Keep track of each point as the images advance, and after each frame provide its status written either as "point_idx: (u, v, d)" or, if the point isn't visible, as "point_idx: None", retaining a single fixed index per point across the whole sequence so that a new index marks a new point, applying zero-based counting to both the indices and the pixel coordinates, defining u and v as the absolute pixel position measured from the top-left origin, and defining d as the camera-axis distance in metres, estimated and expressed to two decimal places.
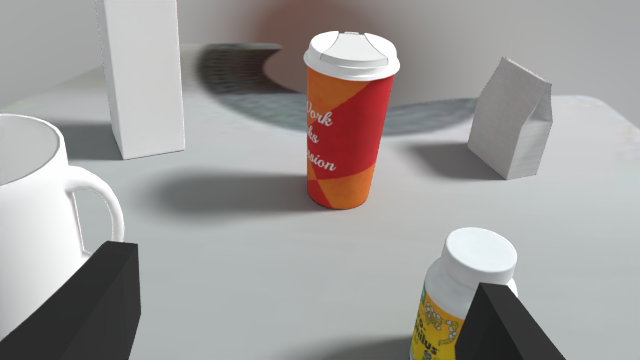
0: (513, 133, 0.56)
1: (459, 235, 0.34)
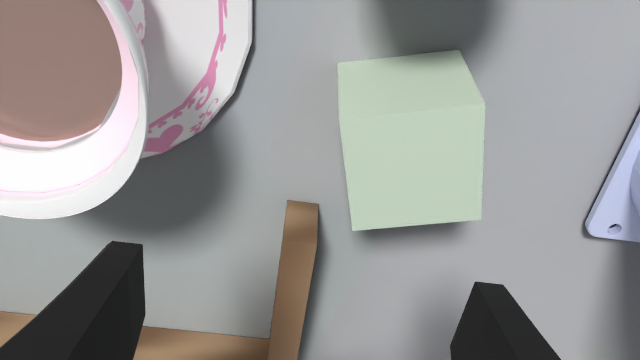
0: None
1: None
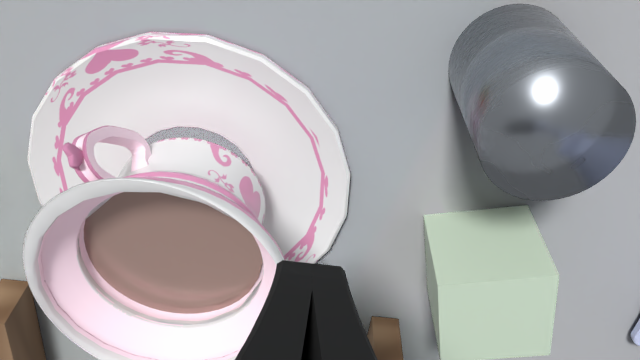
0: None
1: None
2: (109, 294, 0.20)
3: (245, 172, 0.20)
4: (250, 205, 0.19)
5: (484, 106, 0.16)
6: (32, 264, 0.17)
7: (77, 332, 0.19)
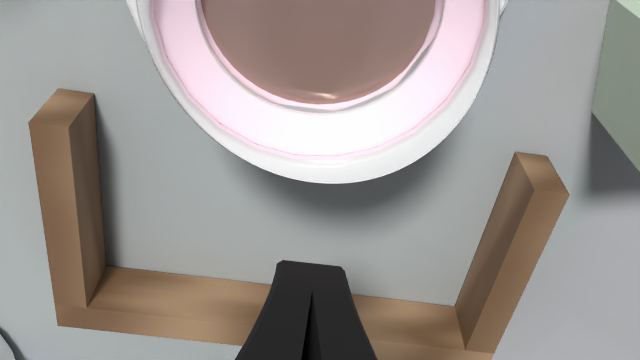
0: None
1: None
2: (224, 65, 0.15)
3: None
4: None
5: None
6: None
7: (189, 100, 0.14)
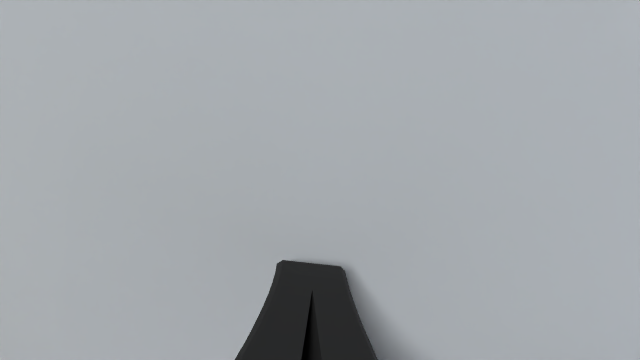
0: None
1: None
2: None
3: None
4: None
5: None
6: None
7: None
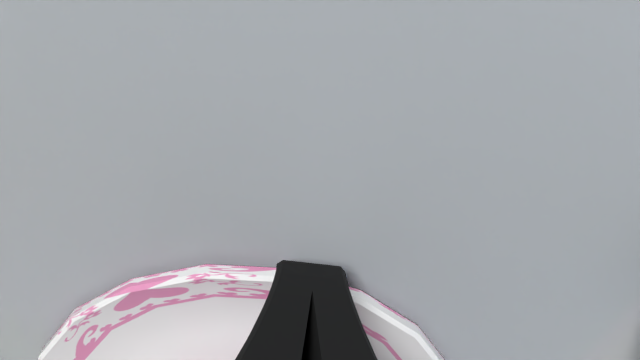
0: None
1: None
2: None
3: None
4: None
5: None
6: None
7: None
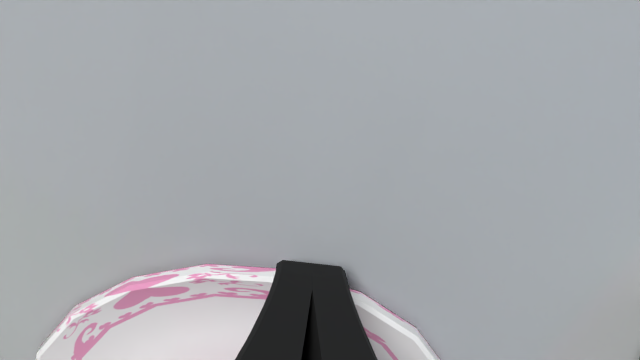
0: None
1: None
2: None
3: None
4: None
5: None
6: None
7: None
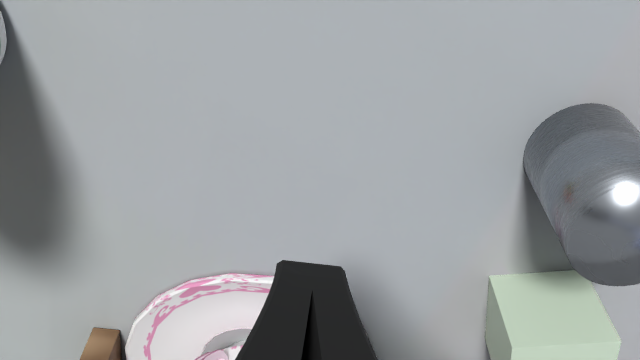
0: None
1: None
2: None
3: None
4: None
5: (573, 209, 0.18)
6: None
7: None
